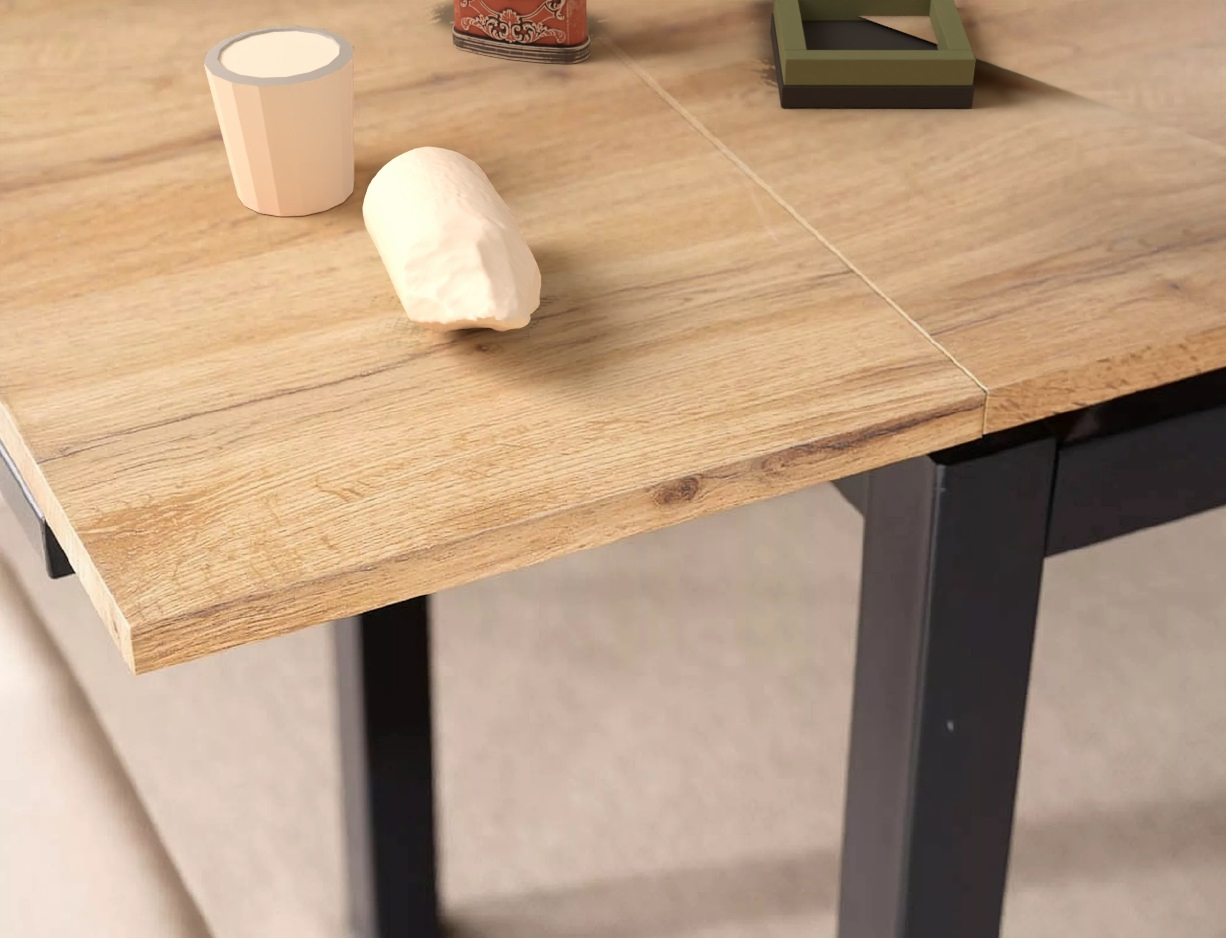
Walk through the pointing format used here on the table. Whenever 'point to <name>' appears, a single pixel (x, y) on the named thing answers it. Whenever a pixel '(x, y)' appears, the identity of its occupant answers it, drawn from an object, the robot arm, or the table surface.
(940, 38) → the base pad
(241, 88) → the peach cup
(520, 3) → the red decorated tin
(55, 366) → the table surface
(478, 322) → the roll
